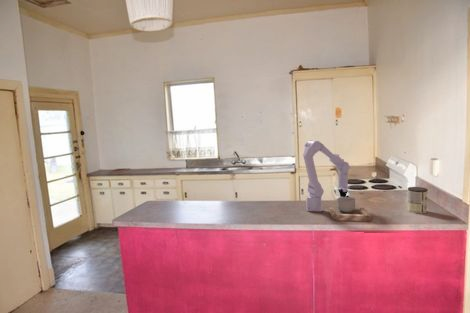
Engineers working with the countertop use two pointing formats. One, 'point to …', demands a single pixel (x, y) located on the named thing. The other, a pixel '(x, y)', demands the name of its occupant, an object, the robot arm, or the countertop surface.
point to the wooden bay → (351, 215)
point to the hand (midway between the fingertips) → (342, 200)
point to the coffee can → (417, 200)
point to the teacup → (346, 204)
